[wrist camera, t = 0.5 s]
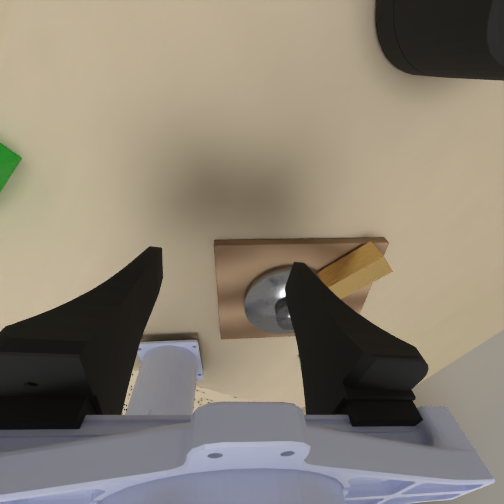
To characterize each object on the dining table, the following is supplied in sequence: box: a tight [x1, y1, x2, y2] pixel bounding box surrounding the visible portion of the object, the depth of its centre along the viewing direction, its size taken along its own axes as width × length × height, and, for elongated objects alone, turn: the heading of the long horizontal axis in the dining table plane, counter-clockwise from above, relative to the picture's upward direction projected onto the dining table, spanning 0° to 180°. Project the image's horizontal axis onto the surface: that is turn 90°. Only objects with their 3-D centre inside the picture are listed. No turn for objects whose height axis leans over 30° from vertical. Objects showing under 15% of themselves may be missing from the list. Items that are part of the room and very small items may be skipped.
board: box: [214, 238, 389, 339], centre depth 28 cm, size 15×18×4 cm
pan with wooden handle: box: [244, 241, 393, 334], centre depth 26 cm, size 16×10×3 cm, turn 129°
